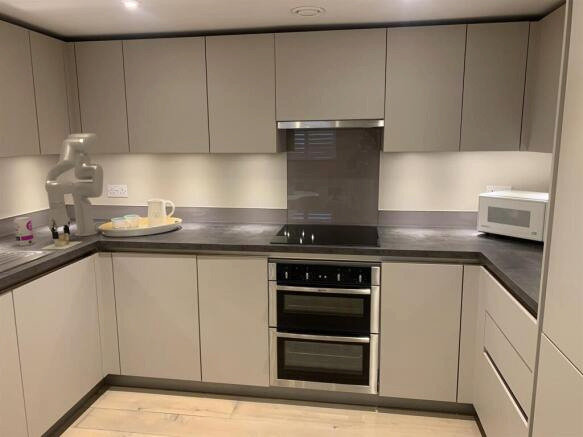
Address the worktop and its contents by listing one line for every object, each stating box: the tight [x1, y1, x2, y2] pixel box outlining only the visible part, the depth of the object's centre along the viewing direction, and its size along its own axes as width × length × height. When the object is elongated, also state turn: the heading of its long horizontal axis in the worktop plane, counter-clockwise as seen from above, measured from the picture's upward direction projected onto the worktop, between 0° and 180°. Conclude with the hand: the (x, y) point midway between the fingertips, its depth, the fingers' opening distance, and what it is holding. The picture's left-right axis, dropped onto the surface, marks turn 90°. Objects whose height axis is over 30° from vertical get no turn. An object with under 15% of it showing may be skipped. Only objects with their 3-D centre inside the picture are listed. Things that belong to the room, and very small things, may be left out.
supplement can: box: [13, 216, 35, 247], centre depth 245 cm, size 8×8×15 cm
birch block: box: [53, 232, 70, 246], centre depth 241 cm, size 5×5×6 cm
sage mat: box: [40, 241, 83, 250], centre depth 242 cm, size 16×14×1 cm
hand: (61, 236), depth 242 cm, fingers open, 9 cm apart
